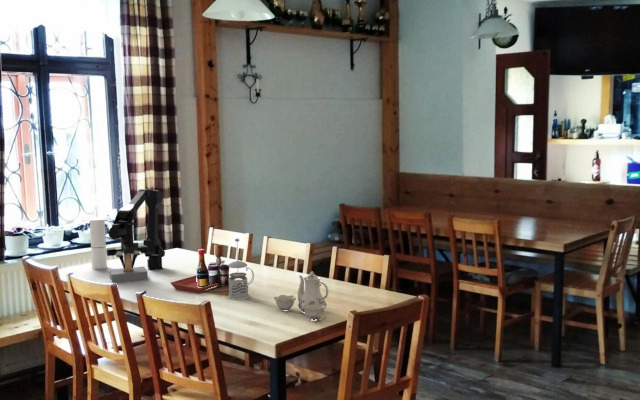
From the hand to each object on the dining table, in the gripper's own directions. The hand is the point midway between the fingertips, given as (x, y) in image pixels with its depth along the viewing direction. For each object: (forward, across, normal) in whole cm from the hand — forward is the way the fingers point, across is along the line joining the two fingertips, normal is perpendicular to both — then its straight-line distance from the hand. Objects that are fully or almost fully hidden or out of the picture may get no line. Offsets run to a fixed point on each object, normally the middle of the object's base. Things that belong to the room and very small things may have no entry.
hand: (128, 268), depth 317 cm
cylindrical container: (+5, -11, +32) cm, 34 cm away
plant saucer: (+6, +27, -30) cm, 41 cm away
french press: (+5, +40, -53) cm, 67 cm away
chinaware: (+5, +57, -88) cm, 104 cm away
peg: (+3, 0, 0) cm, 3 cm away
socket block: (+5, 0, 0) cm, 5 cm away
